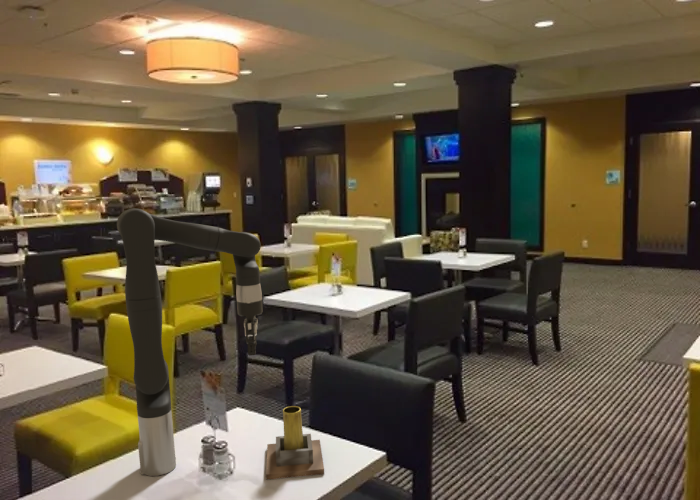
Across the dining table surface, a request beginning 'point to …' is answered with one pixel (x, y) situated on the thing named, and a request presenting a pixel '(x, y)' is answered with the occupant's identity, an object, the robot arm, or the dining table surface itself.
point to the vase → (292, 428)
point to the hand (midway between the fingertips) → (252, 350)
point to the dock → (294, 459)
